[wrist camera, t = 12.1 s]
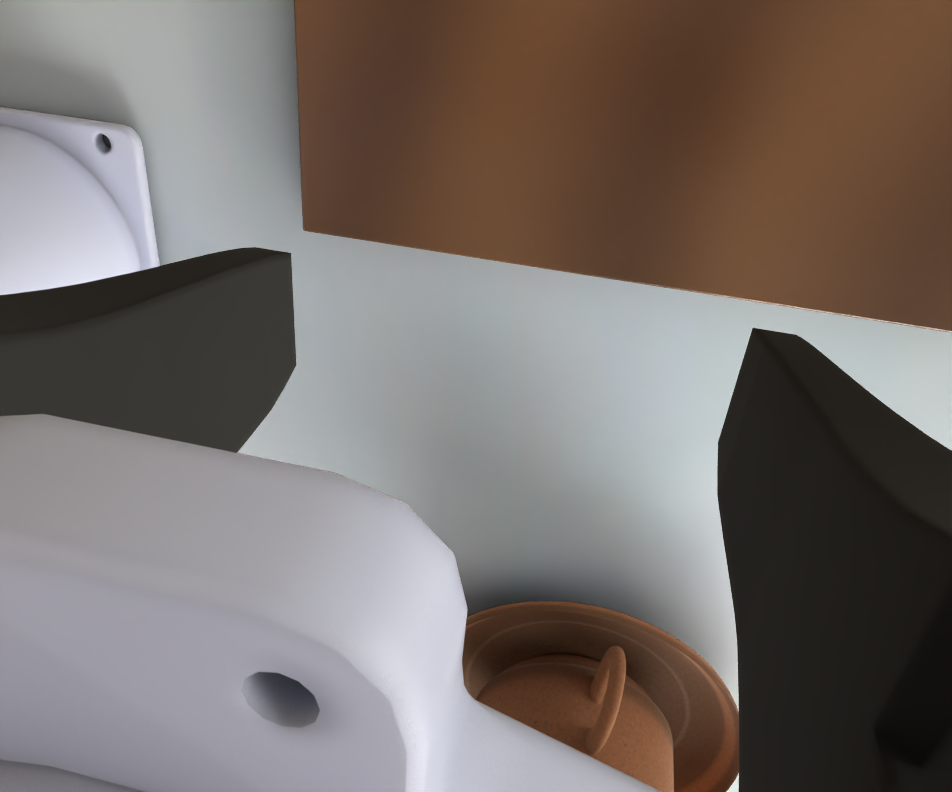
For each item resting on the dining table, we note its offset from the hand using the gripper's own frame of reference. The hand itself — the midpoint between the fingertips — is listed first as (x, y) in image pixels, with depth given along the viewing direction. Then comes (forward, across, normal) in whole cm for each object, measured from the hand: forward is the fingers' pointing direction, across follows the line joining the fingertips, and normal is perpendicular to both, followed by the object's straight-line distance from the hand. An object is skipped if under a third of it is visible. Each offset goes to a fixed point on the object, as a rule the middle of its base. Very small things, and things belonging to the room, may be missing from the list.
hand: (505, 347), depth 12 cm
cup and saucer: (+10, -3, +19) cm, 21 cm away
